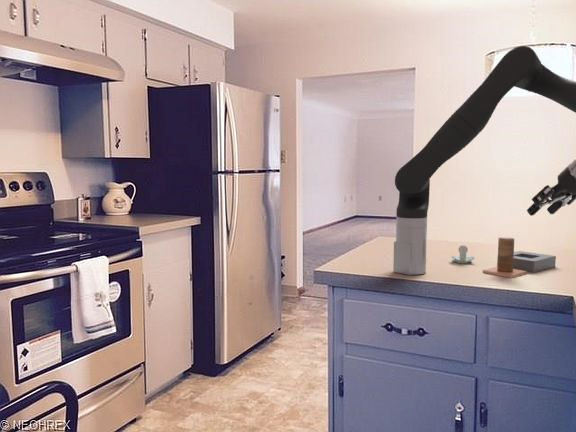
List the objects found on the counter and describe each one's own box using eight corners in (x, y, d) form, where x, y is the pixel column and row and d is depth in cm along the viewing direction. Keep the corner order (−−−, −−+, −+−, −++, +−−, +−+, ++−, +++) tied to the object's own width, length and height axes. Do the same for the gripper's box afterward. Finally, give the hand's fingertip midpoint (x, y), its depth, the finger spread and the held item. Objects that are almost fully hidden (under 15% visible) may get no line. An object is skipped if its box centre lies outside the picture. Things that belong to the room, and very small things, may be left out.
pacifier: (450, 260, 171) (452, 263, 165) (450, 243, 170) (452, 245, 164) (472, 261, 169) (475, 264, 163) (472, 243, 169) (475, 246, 163)
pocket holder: (533, 272, 151) (534, 261, 150) (497, 266, 160) (497, 255, 160) (555, 266, 159) (555, 256, 159) (519, 260, 169) (519, 250, 168)
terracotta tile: (511, 278, 144) (511, 275, 144) (482, 272, 151) (482, 270, 151) (526, 273, 149) (526, 271, 149) (498, 268, 156) (498, 266, 156)
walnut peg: (508, 272, 147) (509, 239, 146) (494, 270, 150) (495, 238, 149) (515, 270, 149) (517, 238, 148) (502, 268, 153) (503, 236, 152)
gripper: (589, 163, 133) (548, 201, 144) (555, 162, 127) (514, 203, 138) (608, 183, 129) (563, 221, 140) (573, 184, 122) (530, 224, 134)
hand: (539, 212), depth 139 cm, fingers open, 8 cm apart
